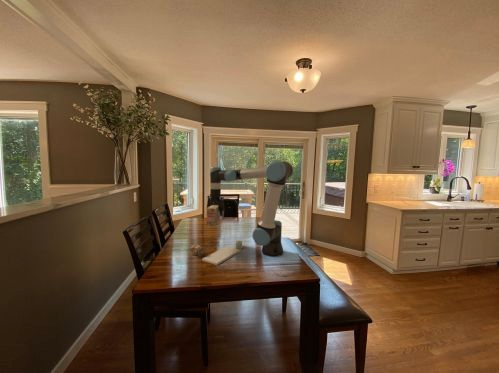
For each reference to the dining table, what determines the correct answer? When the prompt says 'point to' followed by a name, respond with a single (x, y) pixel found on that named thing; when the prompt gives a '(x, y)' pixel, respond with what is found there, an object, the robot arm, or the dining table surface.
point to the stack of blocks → (213, 215)
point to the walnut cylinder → (201, 251)
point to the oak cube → (194, 250)
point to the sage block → (239, 245)
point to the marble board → (221, 255)
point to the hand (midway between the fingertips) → (215, 219)
